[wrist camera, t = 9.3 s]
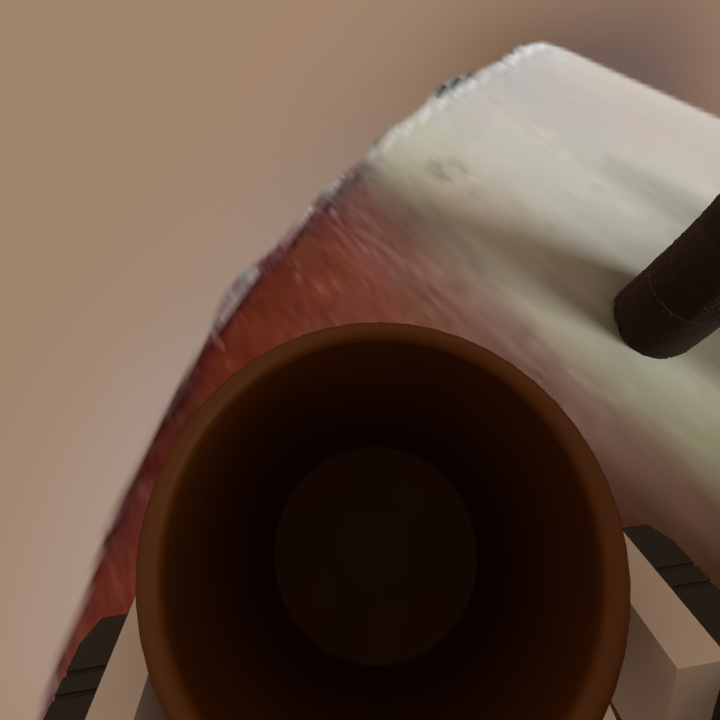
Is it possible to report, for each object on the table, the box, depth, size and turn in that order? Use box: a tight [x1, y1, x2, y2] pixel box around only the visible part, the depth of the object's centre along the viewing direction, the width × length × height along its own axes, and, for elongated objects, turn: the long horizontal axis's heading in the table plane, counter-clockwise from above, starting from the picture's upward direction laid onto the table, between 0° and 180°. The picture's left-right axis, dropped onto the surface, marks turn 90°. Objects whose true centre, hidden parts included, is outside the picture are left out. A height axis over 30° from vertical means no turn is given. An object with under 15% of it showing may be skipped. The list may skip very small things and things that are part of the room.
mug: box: [136, 322, 631, 720], centre depth 11 cm, size 12×8×9 cm, turn 164°
